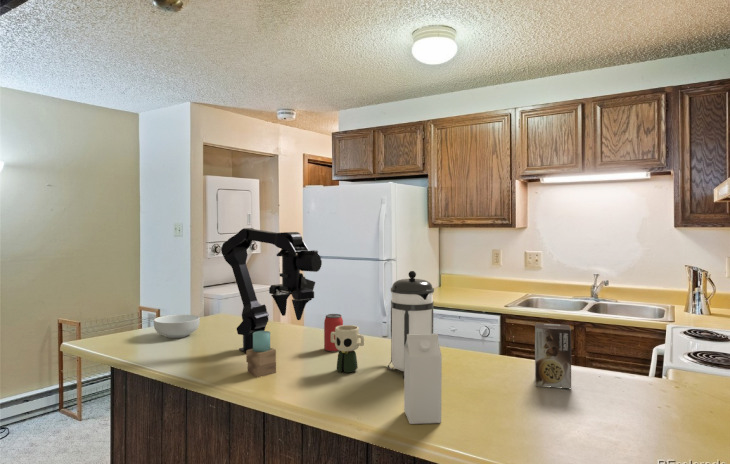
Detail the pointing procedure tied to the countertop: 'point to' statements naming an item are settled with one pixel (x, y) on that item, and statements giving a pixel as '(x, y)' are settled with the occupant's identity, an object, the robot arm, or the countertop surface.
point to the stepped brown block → (260, 357)
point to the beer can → (331, 330)
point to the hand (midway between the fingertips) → (291, 317)
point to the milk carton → (422, 378)
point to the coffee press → (409, 314)
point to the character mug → (347, 346)
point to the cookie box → (552, 355)
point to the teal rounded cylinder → (261, 341)
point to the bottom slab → (262, 369)
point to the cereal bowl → (176, 325)
